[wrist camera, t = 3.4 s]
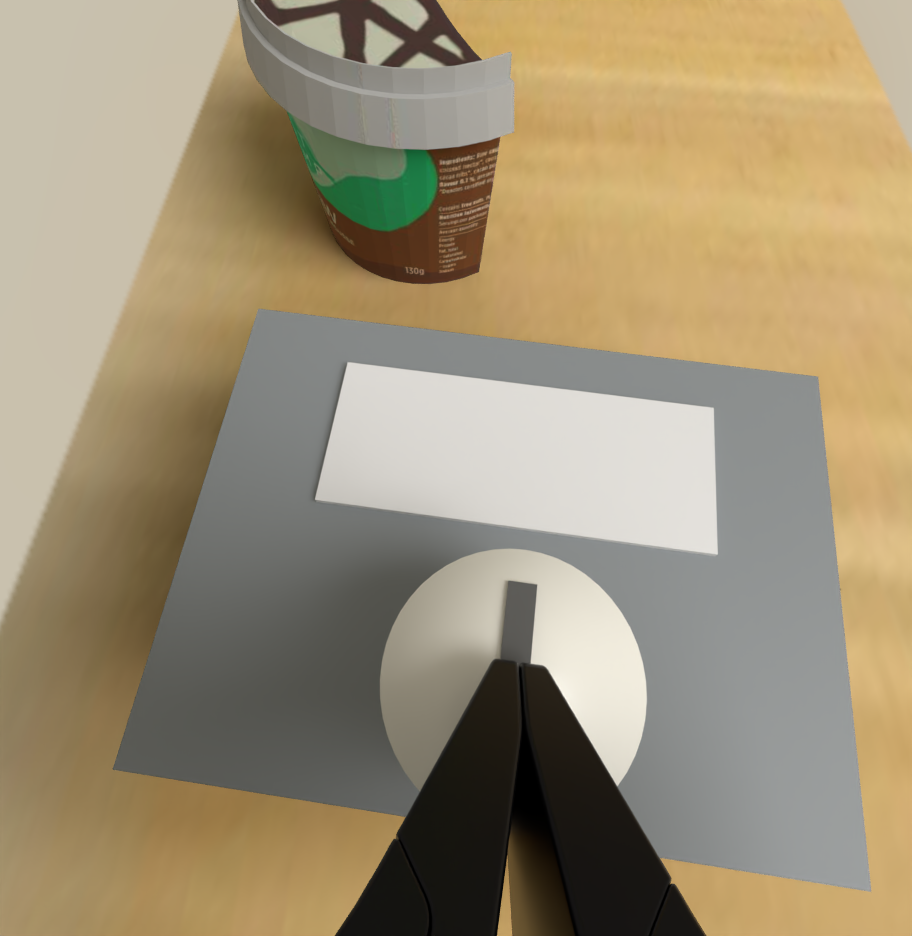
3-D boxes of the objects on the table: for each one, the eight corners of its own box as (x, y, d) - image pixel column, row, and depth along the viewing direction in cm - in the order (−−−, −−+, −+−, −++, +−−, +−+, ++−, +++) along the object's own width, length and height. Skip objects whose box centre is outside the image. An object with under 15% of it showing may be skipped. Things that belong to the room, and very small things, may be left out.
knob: (566, 780, 14) (646, 860, 8) (394, 753, 14) (354, 813, 8) (576, 603, 15) (650, 565, 10) (422, 582, 15) (404, 531, 10)
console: (715, 807, 18) (878, 895, 11) (235, 733, 18) (107, 771, 12) (707, 464, 22) (822, 372, 15) (315, 413, 22) (256, 304, 16)
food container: (263, 166, 27) (163, -99, 18) (373, 123, 28) (334, -148, 19) (373, 352, 23) (320, 142, 14) (495, 295, 25) (521, 64, 15)
